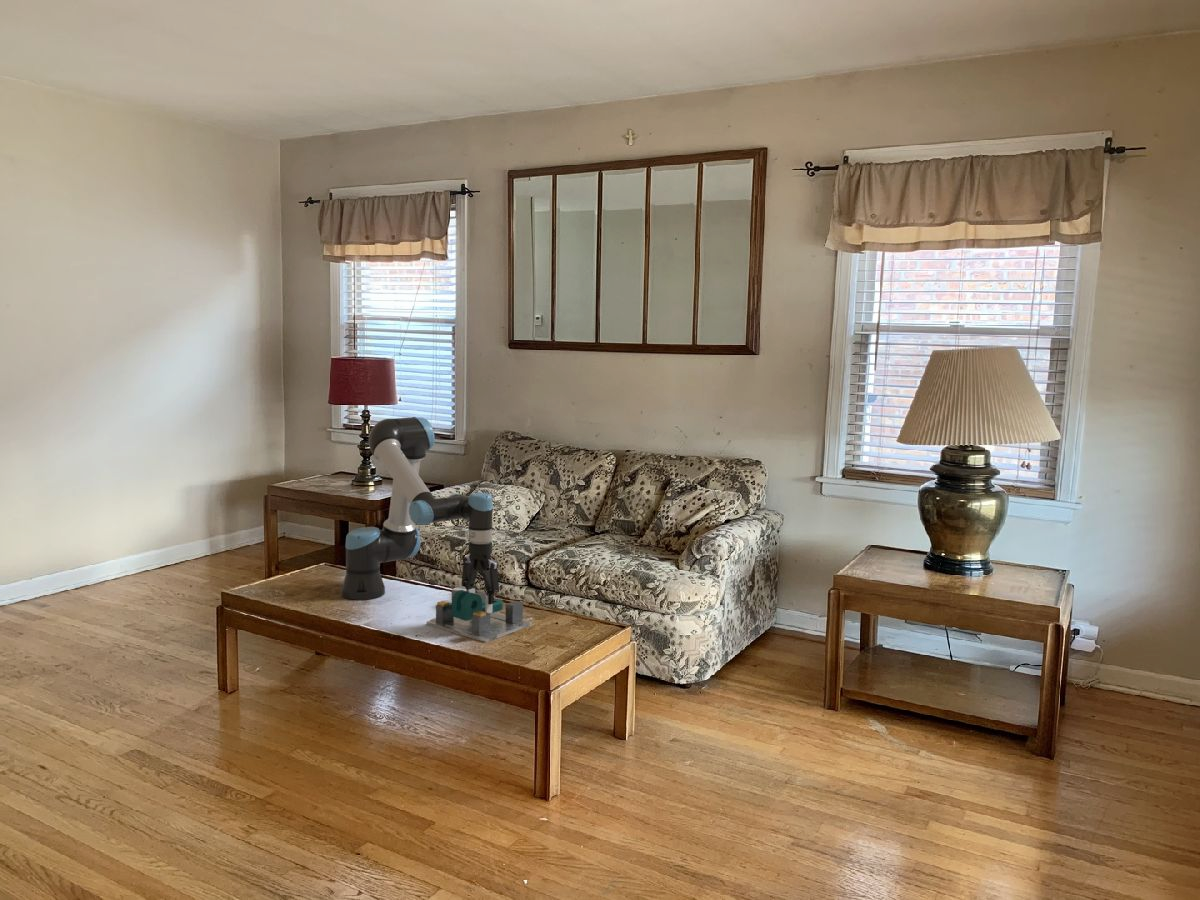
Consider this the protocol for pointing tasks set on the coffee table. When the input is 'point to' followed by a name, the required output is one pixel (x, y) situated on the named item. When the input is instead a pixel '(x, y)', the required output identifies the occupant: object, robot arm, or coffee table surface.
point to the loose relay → (458, 590)
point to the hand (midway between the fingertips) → (480, 610)
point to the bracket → (470, 605)
